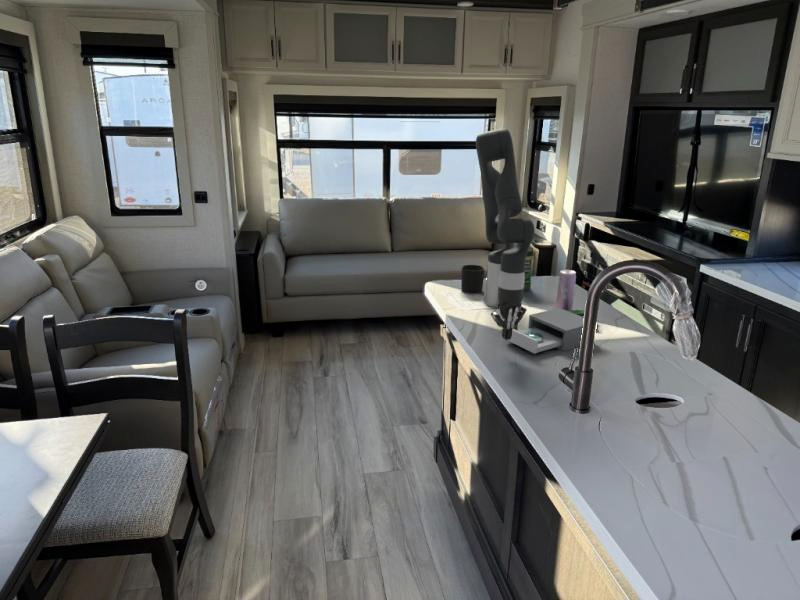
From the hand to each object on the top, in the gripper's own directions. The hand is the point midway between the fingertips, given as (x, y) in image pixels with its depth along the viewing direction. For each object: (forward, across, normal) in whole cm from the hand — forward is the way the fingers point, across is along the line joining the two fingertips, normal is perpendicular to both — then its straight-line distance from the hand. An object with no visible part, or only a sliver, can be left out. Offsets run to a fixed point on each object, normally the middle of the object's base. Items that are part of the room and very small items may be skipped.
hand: (506, 338), depth 172 cm
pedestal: (+5, +13, +12) cm, 19 cm away
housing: (+5, +24, 0) cm, 25 cm away
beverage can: (+5, +47, +19) cm, 51 cm away
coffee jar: (+5, +50, +47) cm, 69 cm away
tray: (+4, +12, 0) cm, 13 cm away
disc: (+3, +12, 0) cm, 12 cm away
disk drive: (+5, +41, +7) cm, 42 cm away
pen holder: (+5, +31, +55) cm, 64 cm away
